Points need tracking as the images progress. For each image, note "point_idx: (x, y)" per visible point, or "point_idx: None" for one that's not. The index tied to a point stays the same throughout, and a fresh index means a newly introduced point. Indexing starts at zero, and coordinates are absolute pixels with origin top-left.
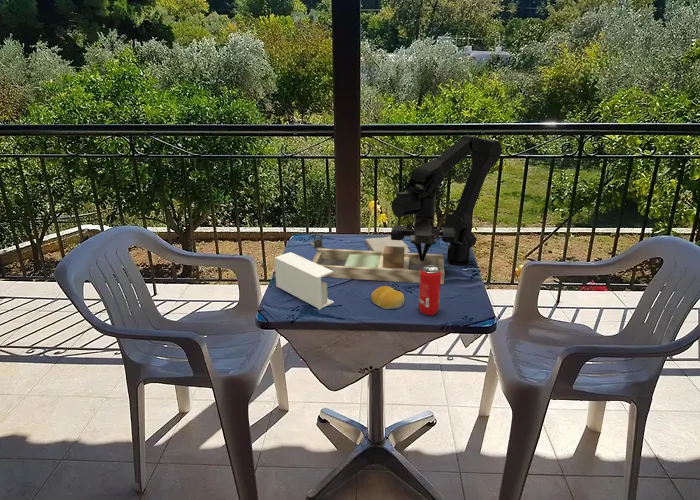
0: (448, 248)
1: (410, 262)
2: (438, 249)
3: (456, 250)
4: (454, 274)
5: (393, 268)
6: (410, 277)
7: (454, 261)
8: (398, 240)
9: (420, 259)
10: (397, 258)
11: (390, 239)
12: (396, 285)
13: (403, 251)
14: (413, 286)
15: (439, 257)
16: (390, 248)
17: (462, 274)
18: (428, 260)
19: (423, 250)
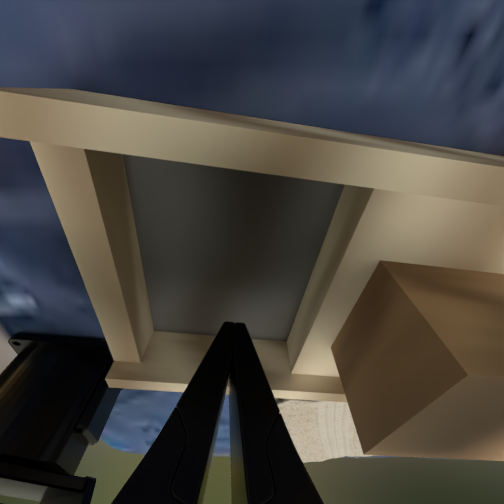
0: (82, 427)
1: (281, 346)
2: (167, 413)
3: (30, 415)
4: (50, 251)
5: (452, 258)
6: (351, 137)
7: (80, 353)
8: (298, 450)
9: (247, 333)
10: (486, 330)
11: (322, 452)
12: (476, 60)
13: (419, 415)
14: (334, 34)
15: (132, 369)
16: (496, 443)
17: (4, 251)
18: (195, 354)
19: (216, 430)
